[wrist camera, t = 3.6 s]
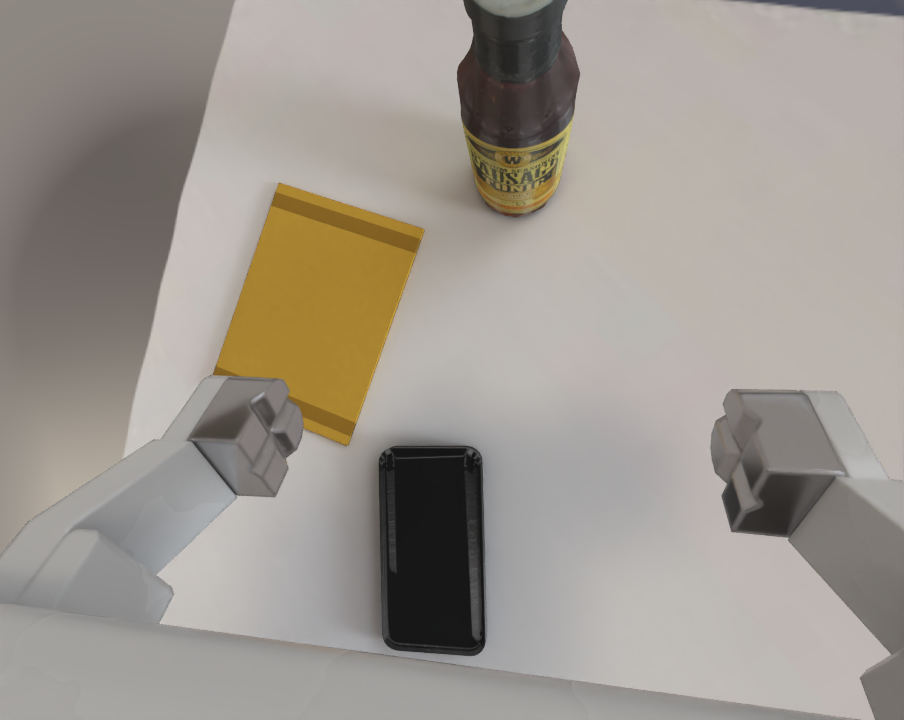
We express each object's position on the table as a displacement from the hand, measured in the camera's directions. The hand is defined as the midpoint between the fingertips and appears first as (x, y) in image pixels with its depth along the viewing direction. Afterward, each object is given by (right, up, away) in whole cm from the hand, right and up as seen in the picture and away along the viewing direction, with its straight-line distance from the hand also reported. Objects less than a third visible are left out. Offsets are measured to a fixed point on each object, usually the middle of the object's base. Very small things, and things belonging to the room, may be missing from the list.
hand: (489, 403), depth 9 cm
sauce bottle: (+5, +14, +28) cm, 32 cm away
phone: (-2, -13, +28) cm, 31 cm away
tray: (-12, +5, +30) cm, 33 cm away
